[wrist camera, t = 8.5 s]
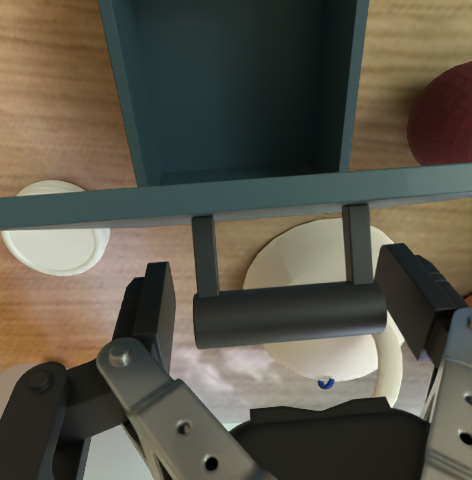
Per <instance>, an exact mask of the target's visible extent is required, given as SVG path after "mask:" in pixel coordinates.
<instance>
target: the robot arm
mask: <svg viewBox="0 0 472 480" xmlns="http://www.w3.org/2000/svg"><path fill="white" fill-rule="evenodd" d="M374 280H376V281H377V282H378V283H379V285H380V287H381V288H382V291H383V293H384V296H385V300H386V305H387V310H388V312H389V314H390V316H391V317H392V319H393V321H394V322H395V324H396V326H397V327H398V329H399V331H400V332H401V334H402V336H403V337H404V339H405V341H406V343H407V344H408V346H409V348H410V349H411V351H412V353H413V354H414V356H415V358H416V359H417V361H424V360H431V361H432V362H433V364H434V366H433V369H432V372H431V376H430V380H429V384H428V388H427V392H426V396H425V400H424V404H423V408H422V412H421V415H420V417H418V416H416V415H413V414H411V413H409V412H406V411H403V410H399V409H396V408H391V407H390V405H389V403H388V401H387V398H386V396H385V397H374V398H363V399H353V400H350V401H347V402H345V403H342V404H339V405H337V406H334V407H331V408H329V409H326V410H323V411H314V410H307V409H300V408H293V407H287V406H278V407H268V408H257V409H250V420H249V421H246V422H244V423H242V424H240V425H238V426H236V427H235V428H233V429H232V430H231V431H229V432H228V431H227V430H226V429H225V428H224V426H223V425H222V424H221V423H220V422H219V421H218V420H217V418H216V417H215V416H214V415H213V414H212V413H211V412H210V411H209V409H208V408H207V407H206V406H205V405H204V404H203V403H202V402H201V400H200V399H199V398H198V397H197V396H196V395H195V394H194V393H193V391H192V390H191V389H190V388H189V387H188V386H187V385H186V384H185V383H184V382H183V381H182V380H181V379H177V380H175V381H174V380H173V379H172V378H171V377H170V376H169V371H170V361H171V351H172V341H173V331H174V321H175V310H176V299H175V291H174V286H173V280H172V275H171V270H170V265H169V262H156V263H148V265H147V269H146V274H145V277H138V278H134V279H133V280H132V281H131V283H130V284H129V285H128V286H127V287H126V291H125V294H124V300H123V301H122V305H121V309H120V312H119V316H118V319H117V323H116V326H115V330H114V334H113V337H112V341H111V342H109V343H108V344H106V345H105V346H104V347H103V348H102V349H101V350H100V352H99V353H98V355H97V358H96V359H94V360H92V361H90V362H88V363H85V364H82V365H79V366H76V367H74V368H71V369H68V370H66V368H65V367H64V366H63V365H62V364H60V363H57V362H46V363H42V364H39V365H37V366H35V367H33V368H31V369H30V370H28V371H27V372H26V373H25V374H23V375H22V376H21V377H20V379H19V380H18V381H17V383H16V385H15V387H14V389H13V392H12V394H11V396H10V399H9V401H8V403H7V405H6V408H5V410H4V412H3V415H2V417H1V419H0V480H83V476H84V471H85V466H86V461H87V456H88V451H89V446H90V442H91V437H92V436H94V435H96V434H98V433H101V432H103V431H106V430H108V429H111V428H113V427H115V426H118V425H120V424H121V426H122V427H123V429H124V430H125V432H126V434H127V435H128V437H129V438H130V440H131V441H132V443H133V444H134V446H135V448H136V449H137V451H138V452H139V454H140V455H141V457H142V459H143V460H144V462H145V463H146V465H147V467H148V468H149V470H150V472H151V474H152V476H153V478H154V480H472V308H470V306H469V305H468V304H467V303H466V302H465V301H464V300H463V298H462V297H461V296H460V295H459V294H458V293H457V291H456V290H455V289H454V288H453V287H452V286H451V285H450V283H449V282H446V279H445V278H444V277H443V275H442V274H440V272H439V271H438V270H437V269H436V267H435V266H434V265H433V264H432V263H431V262H429V261H428V260H426V259H425V258H423V257H421V256H420V255H414V254H413V253H412V252H411V250H410V249H409V248H408V247H407V246H406V245H405V244H404V243H397V244H385V245H382V246H381V248H380V251H379V256H378V261H377V266H376V271H375V276H374Z"/></svg>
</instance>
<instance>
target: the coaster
mask: <svg viewBox="0 0 472 480" xmlns="http://www.w3.org/2000/svg"><path fill="white" fill-rule="evenodd" d="M80 191H86V190H84V189H82V188H81V187H79V186H76V185H74V184H72V183H68V182H65V181H59V180H45V181H39V182H36V183H33V184H30V185H28V186H26V187H25V188H23V189H22V190H21V191H20V192H19V193H18V194H17V195H16V196H27V195H40V194H54V193H67V192H80ZM0 232H1V236H2V239H3V241H4V243H5V245H6V246H7V248H8V249H9V251H10V252H11V253H12V254H13V255H14V256H15V257H16V258H17V259H18V260H20V261H21V262H22V263H24V264H25V265H27V266H28V267H30V268H32V269H34V270H37V271H39V272H42V273H45V274H49V275H55V276H71V275H76V274H79V273H82V272H85V271H87V270H88V269H90V268H91V267H93V266H94V265H95V264H96V263H97V262H98V261H99V260H100V258H101V257H102V255H103V253H104V250H105V248H106V246H107V243H108V241H109V238H110V228H99V229H57V230H15V231H0Z"/></svg>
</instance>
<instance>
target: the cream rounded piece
mask: <svg viewBox="0 0 472 480" xmlns="http://www.w3.org/2000/svg"><path fill="white" fill-rule="evenodd" d="M370 232H371V248H372V264H373V279H374V276H375V271H376V266H377V261H378V256H379V251H380V248H381V246H382V245H385V244H394V242H393V241H392V240H390V239H389V238H388V237H387V236H386V235H385V234H384V233H383V232H382V231H381V230H379V229H377V228H375V227H373V226H371V225H370ZM339 281H346V268H345V253H344V238H343V222H342V218H337V219H324V220H316V221H313V222H310V223H306V224H303V225H300V226H296V227H294V228H292V229H290V230H289V231H287V232H285V233H283V234H282V235H280V236H278V237H276V238H275V239H273V240H272V241H271V242H270V243H269V244H268V245H267V246H266V247H265V248H264V249H263V250H261V251H260V252H259V253H258V255H257V256H256V258H255V259H254V261H253V263H252V264H251V266H250V267H249V269H248V271H247V275H246V278H245V282H244V285H243V289H255V288H267V287H279V286H291V285H303V284H315V283H327V282H339ZM404 341H405V339H404V337H403V336H402V334H401V332H400V331H399V329H398V327H397V326H396V324H395V322H394V321H393V319H392V317H391V316H390V314H389V312H388V310H387V325H386V328H385V330H384V331H383V332H382V333H380V334H370V335H358V336H347V337H335V338H324V339H313V340H301V341H290V342H279V343H267V344H261V345H262V346H263V347H264V348H265V350H266V351H267V352H268V353H269V354H270V355H271V356H272V357H273V359H274V360H275V361H276V362H278V363H280V364H282V365H283V366H285V367H287V368H288V369H290V370H292V371H294V372H296V373H297V374H299V375H301V376H304V377H308V378H311V379H314V380H319V381H318V385H319V387H320V388H322V389H329V388H331V387H332V385H333V384H334V381H347V380H352V379H356V378H360V377H362V376H365V375H367V374H369V373H372V372H373V371H375V370H376V369H378V375H377V380H376V385H375V389H374V393H373V395H372V397H371V398H374V397H385V396H386V398H387V401H388V403H389V405H390V407H391V408H392V407H393V405H394V403H395V402H396V400H397V398H398V394H399V390H400V385H401V381H402V352H401V348H400V347H401V345H402V344H403V342H404ZM323 380H326V381H328V383H327V384H326V385H324V381H323Z"/></svg>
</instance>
